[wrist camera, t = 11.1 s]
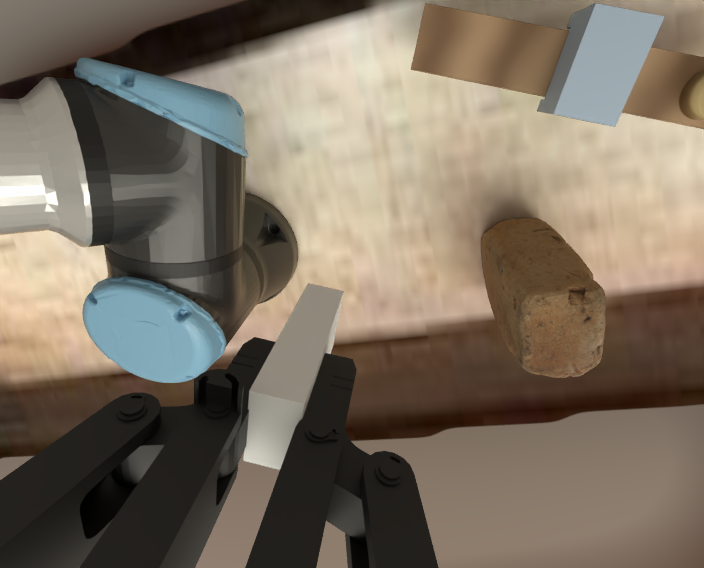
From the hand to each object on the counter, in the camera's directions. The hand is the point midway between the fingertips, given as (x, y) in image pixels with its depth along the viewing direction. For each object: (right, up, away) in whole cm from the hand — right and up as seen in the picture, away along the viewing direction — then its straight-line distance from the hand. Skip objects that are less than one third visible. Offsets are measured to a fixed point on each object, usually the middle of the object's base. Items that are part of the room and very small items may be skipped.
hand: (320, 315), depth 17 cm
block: (+21, +5, +33) cm, 40 cm away
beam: (+22, +23, +24) cm, 40 cm away
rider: (+22, +20, +18) cm, 35 cm away
